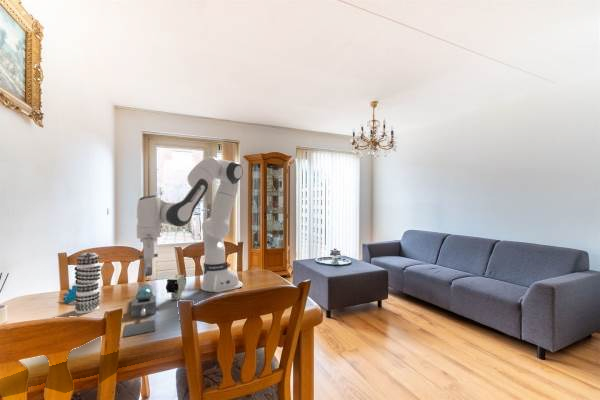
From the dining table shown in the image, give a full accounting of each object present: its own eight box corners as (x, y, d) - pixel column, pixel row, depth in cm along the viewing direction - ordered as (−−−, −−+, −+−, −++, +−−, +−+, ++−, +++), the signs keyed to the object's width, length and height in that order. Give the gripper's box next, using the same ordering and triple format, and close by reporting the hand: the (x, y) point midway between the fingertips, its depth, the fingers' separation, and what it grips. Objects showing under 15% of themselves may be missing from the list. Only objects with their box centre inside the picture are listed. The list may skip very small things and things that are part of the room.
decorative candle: (84, 315, 115) (85, 255, 115) (68, 312, 118) (69, 254, 118) (105, 306, 124) (106, 251, 124) (89, 304, 126) (90, 250, 126)
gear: (57, 298, 130) (76, 279, 135) (67, 303, 134) (85, 285, 139) (69, 305, 125) (88, 286, 130) (79, 311, 129) (97, 292, 134)
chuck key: (157, 273, 120) (157, 248, 120) (157, 274, 117) (157, 249, 117) (138, 275, 117) (139, 249, 117) (138, 277, 114) (138, 250, 114)
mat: (154, 320, 110) (154, 319, 110) (154, 331, 102) (154, 330, 102) (125, 326, 106) (125, 325, 106) (122, 337, 97) (122, 336, 97)
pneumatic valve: (165, 303, 129) (165, 278, 129) (177, 294, 140) (177, 271, 140) (176, 303, 129) (177, 278, 129) (187, 295, 140) (188, 271, 140)
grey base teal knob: (154, 296, 137) (155, 282, 137) (155, 319, 112) (156, 302, 112) (134, 299, 133) (134, 285, 133) (130, 323, 108) (130, 306, 108)
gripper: (158, 235, 110) (157, 270, 110) (156, 230, 127) (156, 259, 127) (139, 236, 106) (139, 272, 107) (140, 231, 124) (140, 261, 124)
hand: (148, 265), depth 117 cm, fingers closed on chuck key, 3 cm apart
